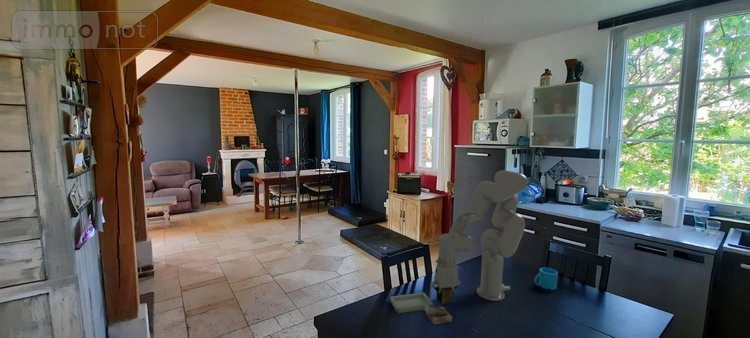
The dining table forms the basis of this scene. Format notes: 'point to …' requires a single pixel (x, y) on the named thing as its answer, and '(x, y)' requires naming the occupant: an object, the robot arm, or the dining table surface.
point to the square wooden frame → (440, 319)
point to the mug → (547, 278)
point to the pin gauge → (434, 310)
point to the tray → (410, 302)
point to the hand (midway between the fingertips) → (445, 299)
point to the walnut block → (447, 295)
